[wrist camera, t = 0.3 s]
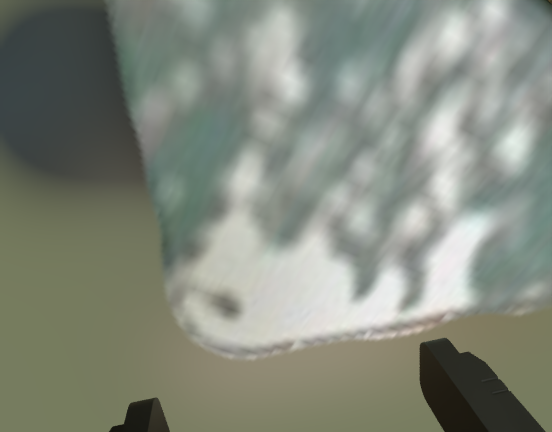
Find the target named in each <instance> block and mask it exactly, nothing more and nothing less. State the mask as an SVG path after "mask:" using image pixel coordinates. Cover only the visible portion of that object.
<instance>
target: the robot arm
mask: <svg viewBox="0 0 552 432" xmlns="http://www.w3.org/2000/svg"><path fill="white" fill-rule="evenodd" d="M420 385H421V389H422V392H423V395H424V397H425V400H426V401H427V403H428V405H429V407H430V408H431V410H432V412H433V413H434V415H435V417H436V418H437V420H438V422H439V423H440V425H441V427H442V428H443V430H444V431H445V432H545V431H544V429H543V428H542V427H541V426H540V425H539V424H538V423H537V421H536V420H535V419H534V418H533V417H532V416H531V414H530V413H529V412H528V411H527V410H526V409H525V408H524V406H523V405H522V404H521V403H520V402H519V401H518V399H517V398H516V397H515V396H514V395H513V394H512V393H511V391H508V388H507V387H506V386H505V385H504V383H503V382H502V381H501V380H500V379H498V377H497V375H496V374H495V373H494V372H493V371H492V369H491V368H490V367H489V366H488V365H487V364H486V363H485V362H484V361H482V360H481V359H479V358H478V357H476V356H474V355H473V354H471V353H470V352H464V353H459V352H458V351H457V350H456V348H455V347H454V346H453V345H452V343H451V342H450V341H449V340H448V339H447V338H442V339H437V340H432V341H428V342H423V343H421V344H420ZM109 432H170V431H169V427H168V425H167V422H166V419H165V416H164V413H163V410H162V407H161V404H160V402H159V399H158V398H152V399H147V400H142V401H137V402H133V403H130V405H129V407H128V410H127V414H126V418H125V422H124V424H123V425H118V426H113V427H112V428H111V430H110V431H109Z"/></svg>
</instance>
